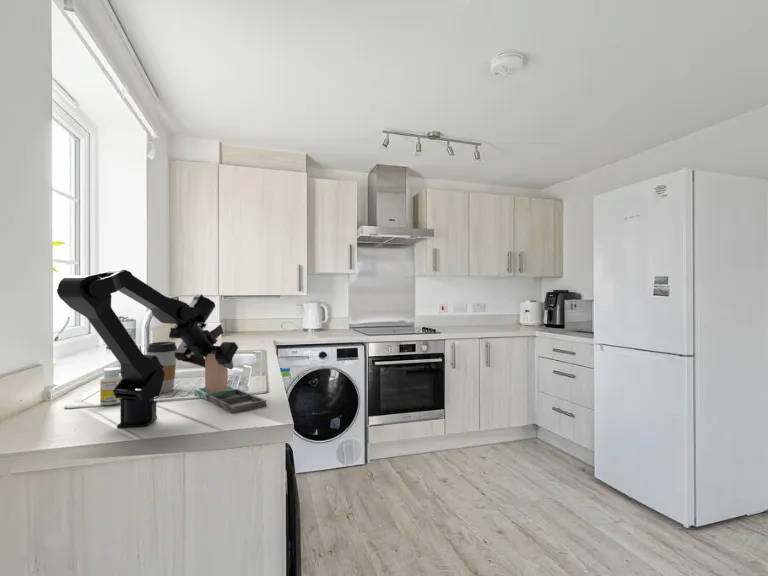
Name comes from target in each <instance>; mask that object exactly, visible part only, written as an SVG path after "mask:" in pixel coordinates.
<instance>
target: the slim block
mask: <svg viewBox="0 0 768 576" xmlns="http://www.w3.org/2000/svg"><path fill="white" fill-rule="evenodd" d="M204 359H205V367H204V371H205V372H204V387H205V392H206V393H208V394H210V393H215V392H221V391H226V390H228V385H229V384H228V379H229V378H228V377H229V376H228V369H229V368H226V367H224V366H223V365H220V364H219V362H218V361H216V359H215V354H208V355H207V356H206V357H204Z"/></svg>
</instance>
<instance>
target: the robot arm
mask: <svg viewBox="0 0 768 576" xmlns="http://www.w3.org/2000/svg"><path fill="white" fill-rule="evenodd" d="M116 292H120V293H122V294H124V295H125V296H127V297H129V298H130V299H132V300H134V301H135V302H136V303H138V304H140V305H142V306H144V307H145V308H147V309H149V310H150V311H151V313H152V315H153V317H154V318H155V319H157V320H158V321H159V322H160V323H161V324H167V325H168V324H169V325H170V324H171V325H172V324H173V325H174V326H173V327H170V329H169V330H170V331H169V334H168V337H169V339H181V340H182V341H181V342H180V344H179V345H178V347H177V350H176V351H175V358H176V361H181V362H184V363H188V364H191V365H196V366H198V367H200V368H205V357H206V356H207V355H208V354H215V359H216V361H218V362H219V364H220V365H223V366H224V367H226V368H228V369H229V370H233V369H234V362H233V359H234V357H235V354H236V352H237V350H238V348H239V346H238V344H237V343H236V342H234V341H223V342H221V344H220V345H215V344H217V342H218V340H217V338H218V337H220V336H221V335H223V334H224V329H223V327H222V324H221V322H209V323H206V321H207V320H208V319H209V317H210V316H211V314H212V313H213V311H214V310H215V308H216V304H215V302H214V301H213V300H211V299H210V298H208V297H205V296H204V295H203V294H199V293H198V294H197V293H196V294H195V295H194V297H193V299H192V300H191V301H190V303H189V304H188V303H186V302H185V301H182V300H179V299H175V298H173V297H168V296H166V295H164V294H163V293H161V292H159V291H158V290H157V289H154V287H152V286H150V285H149V284H147V283H145V282H144V281H142V280H141V279H139V278H138V277H137V276H135V275H133V273H132V272H131V271H129V270H126V269H110V270H107V271H104V272H100V273H94V274H89V275H87V274H86V275H85V274H84V275H67V276H65V277H64V278H62V279H61V280H60V281H59V283H58V286H57V289H56V293H57V296H58V298H59V299H61V300H62V301H63V302H64V303H65V304H66V305H67V306H68V307H69V308H71V309H72V310H73V311H75V312H77V313H78V314H80V315H82V316H84V317H85V318H86V319H87V320H88V322H89V323H90V324H91V326H92V327H93V328H94V330H95V332H97V334H98V335H99V336H100V338H101V339H102V341H103V342H104V343H105V345H106V346H107V348H108V349H109V350H110V351H111V353H112V355H113V356H114V357H115V358H116V360H117V361H118V362H119V364H120V374H119V375H121V376H122V380H121V381H120V382H119V384H118V385H117V386H116V387H115V389H114V390H113V392H114V395H115V398H122V399H120V403H119V404H120V407H119V409H120V414H119V415H120V421H119V422H120V423H118V424H117V425H116V428H133V427H135V428H136V427H146V426H148V425H149V424H151V423H152V422H153V421H154V420H156V419H157V418H158V415H157V401H156V400H155V398H157V397H159V396H160V394H161V393H160V391H161V387H162V384H163V380H164V376H165V374H164V371H163V369H162V368H164V366H163V365H161V364H160V362H159V360H158V358H157V357H156V355H148V354H144V353H143V352H142V351H141V350H140V348H139V346H138V345H137V343H136V342H135V340H134V339H133V338H132V336H131V334H130V333H129V331H128V330H127V329H126V327H125V326H124V324H123V323H122V321H121V320H120V318H119V317H118V315H117V314H116V312H115V311H114V310H113V308H112V294H113V293H116Z"/></svg>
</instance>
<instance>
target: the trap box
mask: <svg viewBox="0 0 768 576" xmlns="http://www.w3.org/2000/svg"><path fill="white" fill-rule="evenodd" d="M194 395H196V396H198V395H199V396H198V397H200V396H202V397H203V398H202V397H201V398H202V399H204V398H205V399H206V400H205V399H204V400H205V401H207V400H208V401H207V402H209V401H210V403H211V402H212V403H211V404H213V403H214V404H213V405H215V406H217V407H219V408H221V409H223V410H225V411H226V412H229V413H230V414H235V413H241V412H245V411H250V410H254V409H258V408H264V407H267V399H265V398H262V397H259V396H257V395H256V394H255V395H254V394H252V393H249V392H247V391H245V390H242V389H240V388H237V387H235V386H232V385H230V384H228V390H226V391H221V392H215V393H210V394H208V393H206V392H205V386H204V387H199V388H194ZM247 401H250V402H249V403H243V404H238V405H232V404H236V403H241V402H247Z"/></svg>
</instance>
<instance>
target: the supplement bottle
mask: <svg viewBox="0 0 768 576" xmlns="http://www.w3.org/2000/svg"><path fill="white" fill-rule="evenodd" d="M120 371H121V367H109V368H108V367H107V368H104V369H103V376H102V377H101V378H100V382H99V384H100V389H99V390H100V392H99V393H100V395H99V396H100V398H99V401H100V405H102V406H112V405H113V406H114V405H117V404H120V399H122V398H115V395H114V392H113V390H114V389H115V387H116V386H117V385H118V384H119V382H120V381H121V380H122V376H121V374H120Z"/></svg>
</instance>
